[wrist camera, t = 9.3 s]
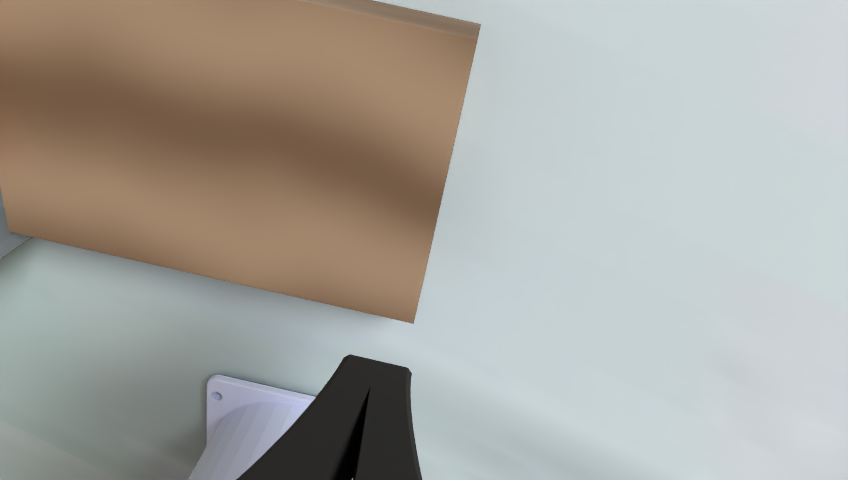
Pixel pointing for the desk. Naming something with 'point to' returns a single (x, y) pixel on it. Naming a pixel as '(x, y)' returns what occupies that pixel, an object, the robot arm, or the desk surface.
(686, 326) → the desk surface
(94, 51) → the walnut board
